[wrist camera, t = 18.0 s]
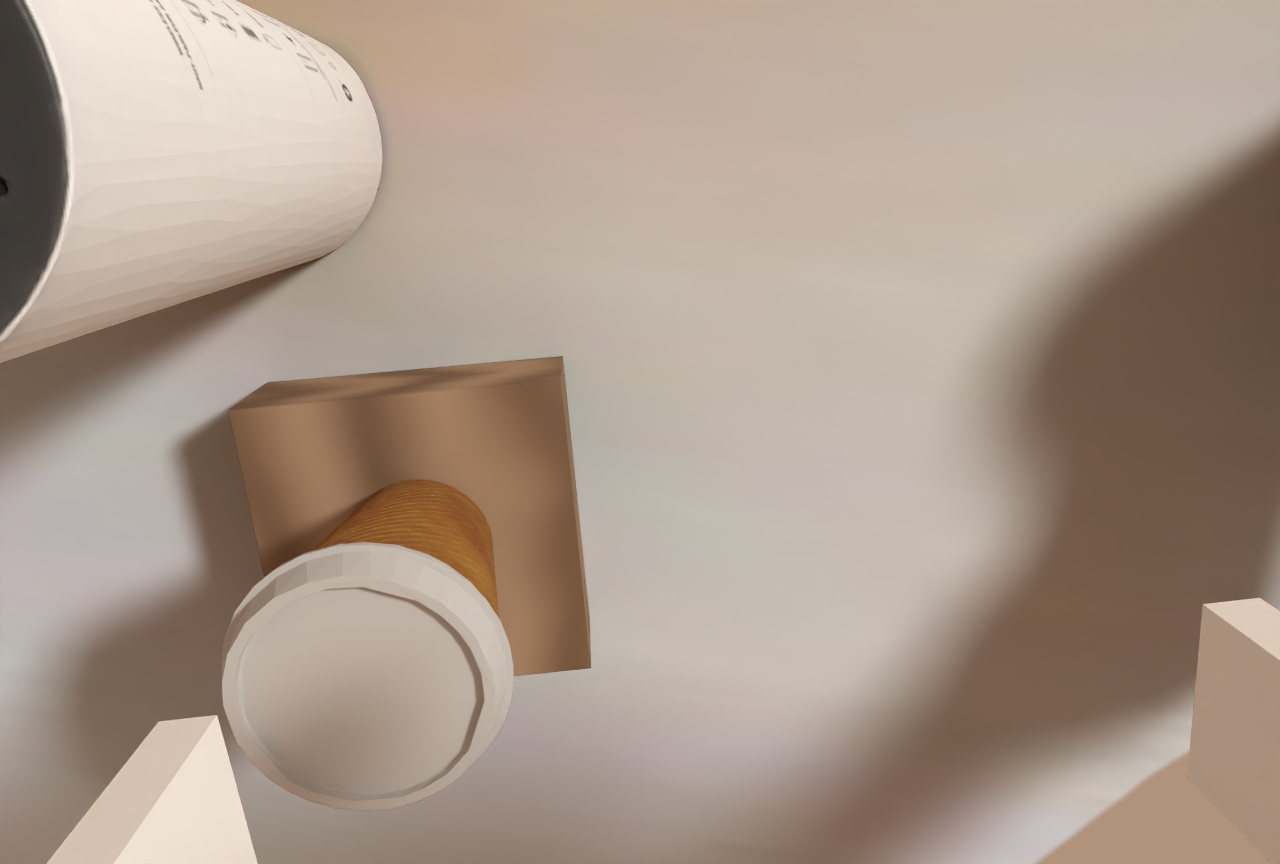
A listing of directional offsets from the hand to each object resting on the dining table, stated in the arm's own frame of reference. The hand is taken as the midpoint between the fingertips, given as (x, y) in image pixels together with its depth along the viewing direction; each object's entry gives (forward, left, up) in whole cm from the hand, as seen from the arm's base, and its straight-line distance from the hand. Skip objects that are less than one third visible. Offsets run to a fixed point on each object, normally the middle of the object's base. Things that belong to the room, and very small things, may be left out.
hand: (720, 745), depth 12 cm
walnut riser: (+10, +8, -32) cm, 35 cm away
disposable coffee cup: (+10, +8, -28) cm, 30 cm away
